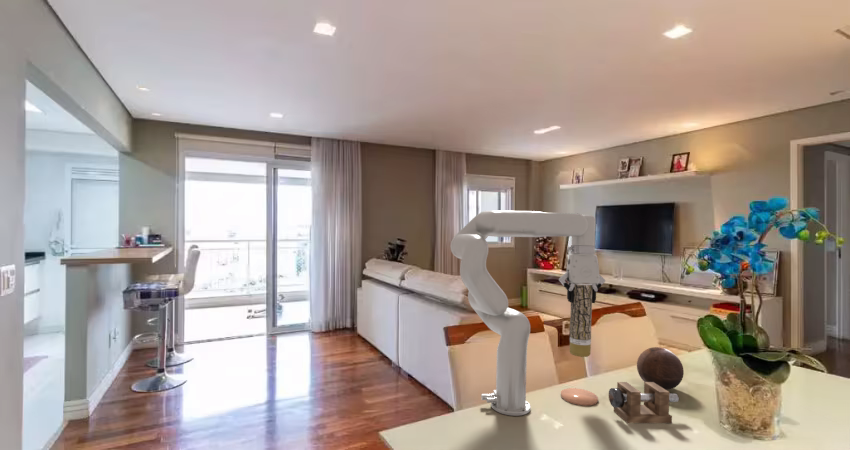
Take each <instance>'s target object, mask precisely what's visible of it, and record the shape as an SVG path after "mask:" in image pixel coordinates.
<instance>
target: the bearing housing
mask: <svg viewBox="0 0 850 450" xmlns="http://www.w3.org/2000/svg"><path fill="white" fill-rule="evenodd" d="M643 386H644V387H643V389H644V390H643V394H655V402H643V404H641V403H642V402H641V394H642V391H640V390H638V389H637V388H636V387H635V386H633V385H631V384H630V383H628V382H627V381H617V385H616V388H619V389H620V390H621V391H622V393H623V394H627V402H624V406H623V407H622V408H614V407H613V412H614V413H615V414H616V415H617V416H619V418H621V420H623V421H624V422H625V423H627V424H665V423H666V424H672V423H673V416H672V415H671V414H670V402H669V394H670V391H669V390H665V389H664V388H662V387H660V386H659V385H657V384H656V383H654V382H644V381H643Z"/></svg>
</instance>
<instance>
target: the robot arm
mask: <svg viewBox="0 0 850 450" xmlns="http://www.w3.org/2000/svg"><path fill="white" fill-rule="evenodd" d="M488 237H495V238H512V237H513V238H520V237H521V238H542V237H571V244H570V246H568V247H567V251H569V252H570V253H569V254H568V257H567V263H566V264H567V265H566V272H565V273H564V274H562V275H561V276H560V277H558V281H559V282H560V283H561V285H562V286H563V288H565V290H566V292H567V293H566V299H567V301H568V302H569V303H570V304H571V303H573V302H574V291H573V288H574V286H575V284H581V283H589V284H592V304H595V303H596V300H597V292H598V290H599V289H601V287H602V286H603V284H605V282H606V279H605V278H604V277H603V276H601V274H600V265H599V260H598V256H597V254H595V253H596V252H595V250H596V249H595V248H596V247H595V245H596V217H595V216H594V215H591V214H580V213H576V212H575V213H573V212H572V213H571V212H543V211H537V210H536V211H535V210H533V211H532V210H496V209H495V210H483V211H481V212H480V213H477V215H475V216H474V217H473V218H472V219H471V220H470V221H469V222H468V223H467V224H466V225H465V226H464V227H463V228H461V229H460V230H459V231H458V232H457V233H456V234H455V235H454V236H453V238H452V240H451V242H450V252H451V254H452V255H453V256H454V257H456V258H457V259H459V260H461V261H460V265H459V268H460V269H459V276H460V279H461V281H462V283H463V285H464V286H465V288H466V289H467V290H468V292H467V299H468V303H469V305H470V307H471V309H472V310H474V312H475V313H476V314H477V315H478V318H479V319H480V320H482V322H483V324H485V325H486V326H487V328H488V329H489V330H490V331H492V332H494V333H496V334H497V335H499V336H500V339H499V342H498V345H497V347H496V348H497V349H496V377H495V379H496V380H495V383H496V384H495V389H493V392H491V393H481V395H480V397H481V398H480V399H481V401H486V403H488V404H489V403H490V407H491V408H492V409H493V410H494V411H496V412H497V413H499V414H502V415H505V416H510V417H511V416H515V417H518V416H524V415H527V414H529V413H530V412H531V404H530V402H528V401H527V400H526V399H527V357H528V356H527V355H528V344H529V338H530V334H531V323H530V320H529V319H528V317H527V316H526V315H525V314H524V313H522V312H521V311H519V310H517V309H514V308H511V307H509V299H508V296H507V294H506V293H505V291H503V289H502V288H501V287H500V286H499V284H498V283H497V282H496V281H495V279H494V278H493V277H492V275H491V274H490V273H489V271H488V269H487V258H488V255H489V244H488V242H487V240H486V239H487V238H488ZM566 281H567V282H566Z"/></svg>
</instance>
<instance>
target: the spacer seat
mask: <svg viewBox="0 0 850 450" xmlns="http://www.w3.org/2000/svg"><path fill="white" fill-rule="evenodd" d="M560 397H561V399H563V400H564V401H566V402H567V403H570V404H573V405H576V406H586V407H587V406H588V407H589V406H590V407H591V406H595V405H597V404H598V402H599V397H598V396H597V394H595V393H594V392H592V391H589V390H587V389H584V388H583V389H582V388H576V387H575V388H574V387H571V388H570V387H568V388H564V389H562V390H561V391H560Z"/></svg>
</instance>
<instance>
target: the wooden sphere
mask: <svg viewBox="0 0 850 450" xmlns="http://www.w3.org/2000/svg"><path fill="white" fill-rule="evenodd" d="M636 369H637V373H638V376H639V377H640V379H641V380H642V381H643V383H644V382H654V383H656V384H657V385H659V386H660V387H662V388H664V389H665V390H667V391H669V390H672V389H675V388H676V387H678V386H679V385H680V384H681V382H683V381H682V380H683V378H684V366H683V364H682V361H681V360H680V358H679V357H678V356H677V355H676V354H675V353H674V352H673V351H671V350H669V349H667V348H664V347H663V348H662V347H660V346H658V347H657V346H655V347H649V348H647V349H644V350H643V351H642V352H641V353H640V355H638V358H637V361H636Z"/></svg>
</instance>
